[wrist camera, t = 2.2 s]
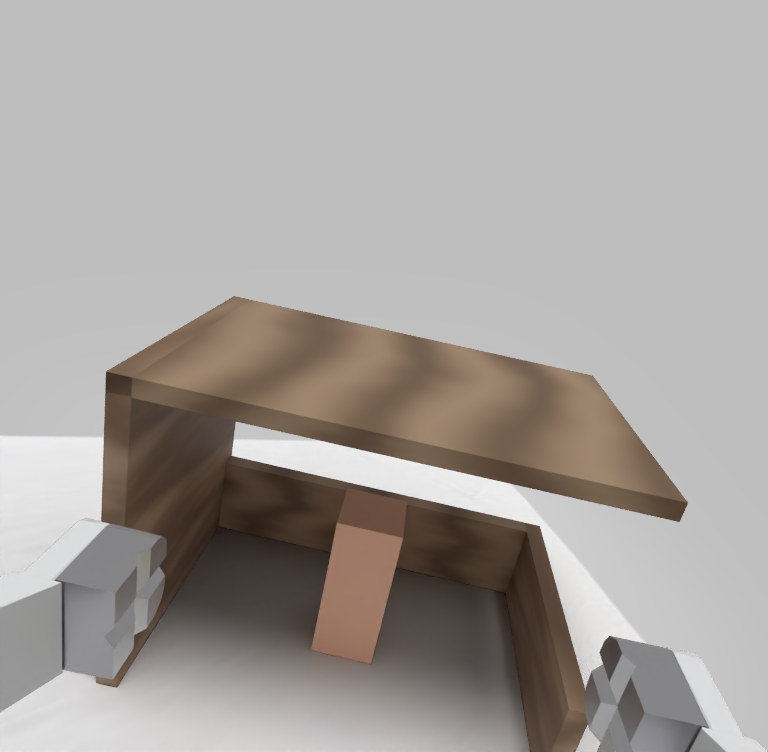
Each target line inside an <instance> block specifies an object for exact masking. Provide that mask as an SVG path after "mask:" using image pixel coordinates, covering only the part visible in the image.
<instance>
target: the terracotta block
mask: <svg viewBox="0 0 768 752" xmlns="http://www.w3.org/2000/svg"><path fill="white" fill-rule="evenodd" d="M406 507H407V501H403V500H398V499H394V498H390V497H385V496H381V495H376V494H372V493H368V492H363V491H359V490H354V489H350V488H347V491H346V495H345V498H344V501H343V505H342V508H341V511H340V515H339V518H338V521H337V525H336V530H335V535H334V540H333V545H332V550H331V555H330V560H329V565H328V570H327V575H326V580H325V584H324V589H323V594H322V599H321V604H320V609H319V614H318V619H317V624H316V629H315V634H314V638H313V643H312V648H311V650H312V651H316V652H321V653H325V654H329V655H333V656H338V657H342V658H346V659H350V660H355V661H359V662H363V663H367V664H371V663H372V659H373V655H374V651H375V647H376V643H377V639H378V635H379V631H380V627H381V623H382V619H383V615H384V611H385V608H386V604H387V600H388V596H389V592H390V588H391V584H392V580H393V576H394V572H395V568H396V564H397V560H398V556H399V552H400V549H401V545H402V541H403V535H404V526H405V516H406Z"/></svg>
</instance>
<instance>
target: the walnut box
mask: <svg viewBox="0 0 768 752" xmlns="http://www.w3.org/2000/svg"><path fill="white" fill-rule="evenodd" d="M105 396H106V397H105V424H104V455H103V486H102V517H101V522H105V523H109V524H115V525H119V526H123V527H127V528H131V529H135V530H139V531H143V532H147V533H151V534H155V535H159V536H163V537H164V538H165V539H166V540H167V554H166V557H165V558H164V560H163V561H162V563H161V564H160V565H159V567H160V568H161V570H162V571H163V573H164V575H165V583H164V590H163V594H162V599H161V601H160V604H159V606H158V609H157V611H156V614H155V616H154V617H153V619H152V621H151V622H150V624H149V625H148V627H147V629H145V630H143V631H141V632H139V633H137V634H135V635H134V648H133V650H132V651H131V653H130V654H129V656H128V657H127V659H126V660H125V662H124V663H123V665H122V667H121V668H120V670H119V671H118V673H117V674H116V676H115V677H114V679H113V680H112V679H107V678H102V677H97V676H96V682H97V683H101V684H105V685H110V686H114V687H117V686H118V684H119V683H120V681H121V680H122V678H123V677H124V675H125V673H126V672H127V670H128V669H129V667H130V666H131V664H132V662H133V661H134V659H135V658H136V656H137V654H138V653H139V651H140V650H141V648H142V647H143V645H144V643H145V642H146V640H147V639H148V637H149V636H150V634H151V632H152V631H153V629H154V628H155V626H156V625H157V623H158V621H159V620H160V618H161V617H162V615H163V613H164V612H165V610H166V609H167V607H168V606H169V604H170V602H171V601H172V599H173V598H174V596H175V595H176V593H177V591H178V590H179V588H180V587H181V585H182V583H183V582H184V580H185V579H186V577H187V576H188V574H189V572H190V571H191V569H192V568H193V566H194V565H195V563H196V561H197V560H198V558H199V557H200V555H201V553H202V552H203V550H204V549H205V547H206V546H207V544H208V542H209V541H210V539H211V538H212V536H213V535H214V533H215V531H216V530H217V528H218V527H223V528H228V529H232V530H236V531H241V532H245V533H249V534H254V535H258V536H262V537H267V538H271V539H275V540H280V541H284V542H288V543H293V544H297V545H301V546H306V547H310V548H314V549H319V550H323V551H327V552H331V550H332V545H333V540H334V535H335V530H336V525H337V521H338V518H339V515H340V511H341V508H342V505H343V501H344V498H345V495H346V491H347V488H350V489H354V490H359V491H363V492H368V493H372V494H376V495H381V496H385V497H390V498H394V499H398V500H403V501H407V507H406V516H405V526H404V535H403V541H402V545H401V549H400V552H399V556H398V560H397V564H396V568H401V569H405V570H409V571H414V572H418V573H422V574H427V575H431V576H435V577H440V578H444V579H448V580H453V581H457V582H461V583H466V584H470V585H474V586H479V587H483V588H487V589H492V590H496V591H500V592H505V593H506V597H507V603H508V610H509V616H510V623H511V630H512V636H513V643H514V649H515V656H516V662H517V669H518V675H519V682H520V688H521V695H522V701H523V708H524V714H525V721H526V727H527V734H528V740H529V747H530V752H575V751H576V749H577V747H578V745H579V742H580V740H581V738H582V736H583V733H584V731H585V729H586V727H587V725H588V722H587V718H586V711H585V694H586V691H585V687H584V684H583V680H582V677H581V673H580V670H579V666H578V662H577V659H576V655H575V652H574V648H573V644H572V641H571V637H570V634H569V630H568V626H567V623H566V619H565V616H564V612H563V608H562V605H561V601H560V598H559V594H558V591H557V587H556V583H555V580H554V576H553V573H552V569H551V565H550V562H549V558H548V555H547V551H546V547H545V544H544V540H543V537H542V533H541V529H540V526H536V525H532V524H528V523H523V522H519V521H514V520H510V519H506V518H501V517H497V516H493V515H488V514H484V513H479V512H475V511H471V510H466V509H462V508H457V507H453V506H449V505H444V504H440V503H436V502H431V501H427V500H422V499H418V498H414V497H409V496H405V495H400V494H396V493H392V492H387V491H383V490H379V489H374V488H370V487H365V486H361V485H357V484H352V483H348V482H343V481H339V480H335V479H330V478H326V477H321V476H317V475H313V474H308V473H304V472H300V471H295V470H291V469H286V468H282V467H278V466H273V465H269V464H264V463H260V462H256V461H251V460H247V459H243V458H238V457H234V456H231V455H232V447H233V439H234V430H235V422H241V423H245V424H250V425H254V426H259V427H263V428H268V429H272V430H277V431H281V432H285V433H289V434H294V435H299V436H303V437H307V438H312V439H316V440H320V441H325V442H329V443H334V444H338V445H342V446H347V447H351V448H356V449H360V450H364V451H369V452H373V453H378V454H382V455H387V456H391V457H395V458H400V459H404V460H409V461H413V462H417V463H422V464H426V465H431V466H435V467H439V468H444V469H448V470H453V471H457V472H462V473H466V474H470V475H475V476H479V477H484V478H488V479H492V480H497V481H501V482H506V483H510V484H514V485H519V486H523V487H528V488H532V489H537V490H541V491H546V492H550V493H555V494H559V495H563V496H568V497H572V498H576V499H581V500H585V501H590V502H594V503H599V504H603V505H608V506H612V507H616V508H620V509H625V510H629V511H634V512H638V513H642V514H647V515H651V516H656V517H660V518H665V519H670V520H673V521H678V522H680V520H681V517H682V515H683V513H684V511H685V508H686V506H687V504H688V502H687V501H686V500H685V498H684V497H683V496H682V495H681V493H680V492H679V490H678V489H677V488H676V486H675V485H674V484H673V482H672V481H671V480H670V479H669V477H668V476H667V474H666V473H665V472H664V470H663V469H662V468H661V466H660V465H659V464H658V462H657V461H656V460H655V458H654V457H653V456H652V454H651V453H650V452H649V450H648V449H647V448H646V446H645V445H644V444H643V443H642V441H641V440H640V438H639V437H638V436H637V434H636V433H635V432H634V430H633V429H632V428H631V427H630V425H629V424H628V422H627V421H626V420H625V418H624V417H623V416H622V414H621V413H620V412H619V410H618V409H617V408H616V406H615V405H614V404H613V402H612V401H611V400H610V398H609V397H608V396H607V394H606V393H605V392H604V390H603V389H602V388H601V386H600V385H599V384H598V382H597V381H596V380H595V378H594V377H593V376H591V375H587V374H582V373H578V372H573V371H568V370H564V369H560V368H555V367H551V366H546V365H542V364H537V363H532V362H528V361H523V360H519V359H515V358H510V357H505V356H501V355H497V354H492V353H488V352H483V351H479V350H474V349H470V348H465V347H461V346H456V345H452V344H447V343H442V342H438V341H434V340H429V339H425V338H420V337H416V336H411V335H406V334H402V333H397V332H393V331H389V330H384V329H379V328H375V327H370V326H366V325H361V324H357V323H352V322H348V321H343V320H339V319H334V318H330V317H325V316H321V315H316V314H311V313H307V312H303V311H298V310H294V309H289V308H284V307H280V306H276V305H271V304H267V303H262V302H258V301H253V300H249V299H244V298H240V297H235V296H234V297H232V298H231V299H229V300H227V301H225V302H224V303H222V304H220V305H219V306H217V307H215V308H214V309H212V310H210V311H208V312H207V313H205V314H203V315H202V316H200V317H198V318H197V319H195V320H193V321H191V322H190V323H188V324H186V325H185V326H183V327H181V328H180V329H178V330H176V331H174V332H173V333H171V334H169V335H168V336H166V337H164V338H162V339H161V340H159V341H157V342H156V343H154V344H152V345H151V346H149V347H147V348H145V349H144V350H142V351H140V352H139V353H137V354H135V355H134V356H132V357H130V358H128V359H127V360H125V361H123V362H122V363H120V364H118V365H116V366H115V367H113V368H111V369H110V370H108V371H107V372H106V394H105Z"/></svg>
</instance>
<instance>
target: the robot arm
mask: <svg viewBox="0 0 768 752" xmlns="http://www.w3.org/2000/svg"><path fill="white" fill-rule="evenodd" d="M166 554H167V540H166V539H165V538H164V537H163V536H159V535H155V534H151V533H147V532H143V531H139V530H135V529H131V528H127V527H123V526H119V525H115V524H109V523H105V522H101V521H97V520H93V519H89V518H85V519H82V520H79V521H78V522H76V523H75V524H74V525H73V526H72V527H71V528H70V529H69V530H68V531H67V532H66V533H65V534H64V535H63V536H62V537H60V538H59V539H58V540H57V541H56V542H55V543H54V544H53V545H52V546H51V547H50V548H49V549H48V550H47V551H45V552H44V553H43V554H42V555H41V556H40V557H39V558H38V559H37V560H36V561H35V562H34V563H33V564H32V565H31V566H29V567H28V568H27V569H26V570H25V571H24V572H23V573H17V572H11V573H9V574H6V575H3V576H0V712H1V711H3V710H4V709H6V708H8V707H9V706H11V705H12V704H14V703H16V702H17V701H19V700H20V699H22V698H23V697H25V696H27V695H28V694H30V693H31V692H33V691H34V690H36V689H38V688H39V687H41V686H42V685H44V684H46V683H47V682H49V681H50V680H52V679H53V678H55V677H57V676H58V675H60V674H61V673H62V670H66V671H71V672H76V673H81V674H86V675H91V676H97V677H102V678H107V679H112V680H113V679H114V677H115V676H116V674H117V673H118V671H119V670H120V668H121V667H122V665H123V663H124V662H125V660H126V659H127V657H128V656H129V654H130V653H131V651H132V650H133V648H134V635H135V634H137V633H139V632H141V631H143V630H145V629H147V627H148V625H149V624H150V622H151V621H152V619H153V617H154V616H155V614H156V611H157V609H158V606H159V604H160V601H161V599H162V594H163V590H164V583H165V575H164V573H163V571H162V570H161V568H160V567H159V565H160V564H161V563H162V561H163V560H164V558H165V557H166ZM600 655H601V659H602V662H603V665H601V666H600V667H598V668H596V669H595V670H593V671H592V672H591V675H590V677H589V680H588V683H587V686H586V694H585V711H586V718H587V722H588V726H589V730H590V731H591V732H592V733H593V734H594V735H595V737H596V738H597V739H598V740H599V741H600V742H601V743H600V746H599V748H598V750H597V752H767V751H766V750H765V749H764V748H763V747H761V745H759V744H758V743H757V742H756V741H755V740H754V739H751V738H747V737H744V736H743V734H742V732H741V730H740V729H739V727H738V725H737V723H736V721H735V719H734V717H733V716H732V714H731V712H730V710H729V708H728V706H727V705H726V703H725V701H724V699H723V697H722V695H721V694H720V692H719V690H718V688H717V686H716V684H715V683H714V681H713V679H712V677H711V675H710V673H709V672H708V670H707V668H706V666H705V664H704V662H703V660H702V659H701V658H700V657H699V656H698V655H696V654H695V653H692V652H687V651H682V650H676V649H672V648H663V647H659V646H654V645H649V644H645V643H640V642H635V641H631V640H626V639H621V638H617V637H612V636H609V637H608V638H607V639H606V640H605V641H604V643H603V646H602V648H601V650H600Z"/></svg>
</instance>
